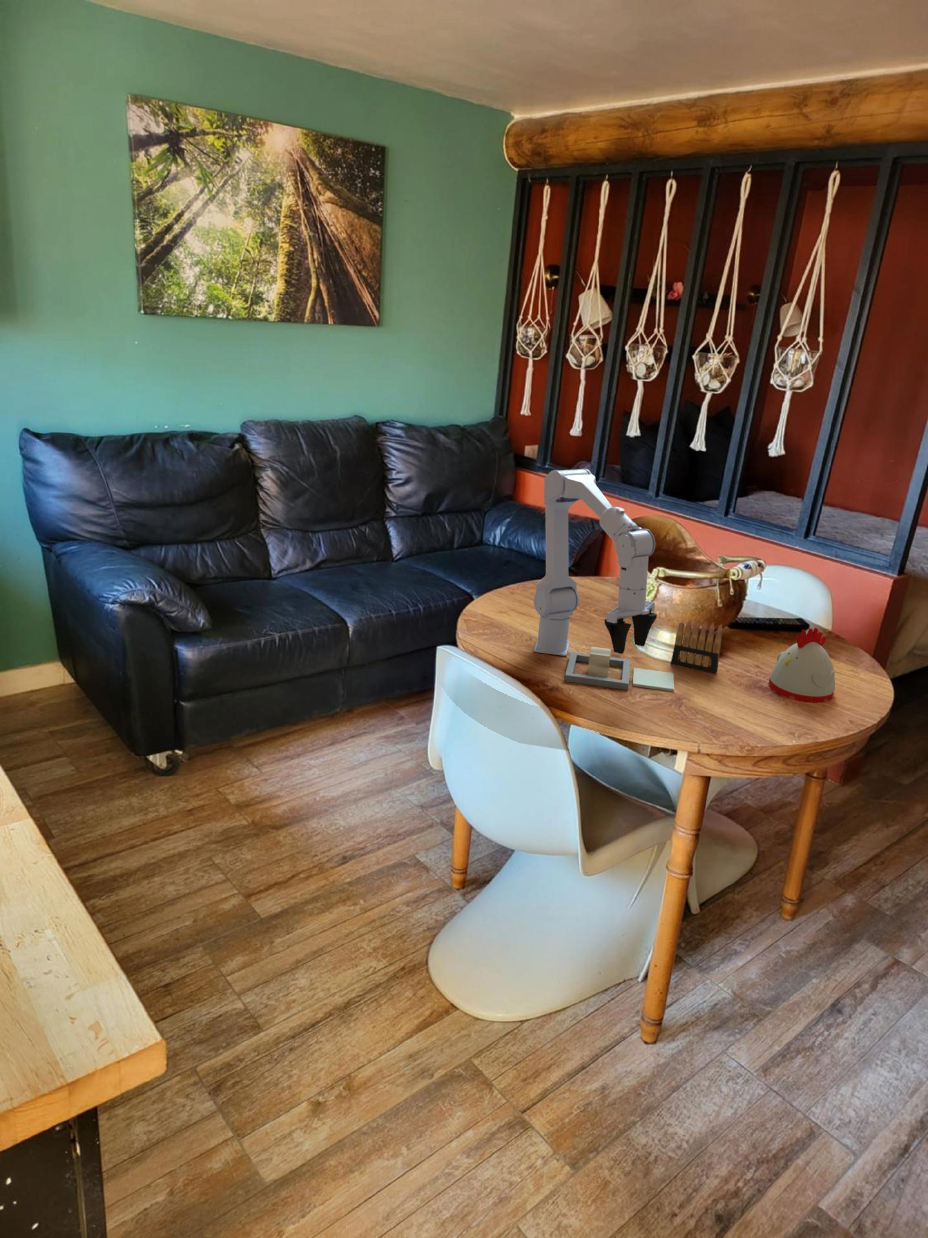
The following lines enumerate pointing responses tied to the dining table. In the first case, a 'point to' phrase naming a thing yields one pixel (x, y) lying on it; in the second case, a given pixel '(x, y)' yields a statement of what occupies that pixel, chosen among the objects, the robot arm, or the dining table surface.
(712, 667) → the ammunition clip
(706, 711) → the dining table surface
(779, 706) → the dining table surface
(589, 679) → the frame
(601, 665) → the maple block
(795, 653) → the kitchen timer
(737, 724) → the dining table surface
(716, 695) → the dining table surface
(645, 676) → the green pad
